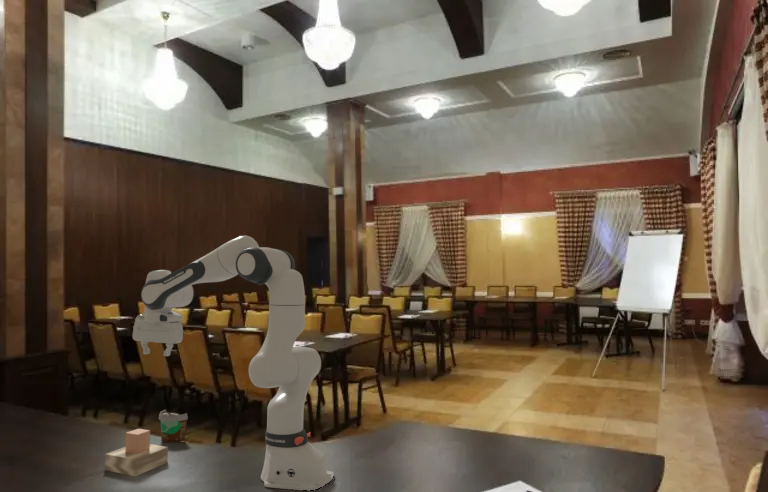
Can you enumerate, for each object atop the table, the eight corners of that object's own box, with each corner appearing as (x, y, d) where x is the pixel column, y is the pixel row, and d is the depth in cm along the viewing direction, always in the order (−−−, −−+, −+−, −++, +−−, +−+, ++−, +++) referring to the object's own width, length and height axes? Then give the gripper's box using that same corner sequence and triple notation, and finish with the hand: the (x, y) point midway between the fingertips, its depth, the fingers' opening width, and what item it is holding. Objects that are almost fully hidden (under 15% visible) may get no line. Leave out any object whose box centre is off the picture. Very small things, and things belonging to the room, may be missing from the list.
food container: (150, 440, 198) (151, 412, 199) (164, 435, 204) (165, 409, 204) (173, 445, 192) (174, 417, 193) (187, 440, 198) (188, 413, 198)
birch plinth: (167, 462, 176) (167, 447, 176) (135, 476, 164) (135, 459, 164) (137, 456, 180) (138, 441, 181) (104, 470, 168) (105, 453, 169)
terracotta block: (149, 449, 174) (150, 430, 174) (137, 453, 169) (137, 434, 169) (138, 447, 176) (138, 428, 176) (125, 451, 171) (125, 432, 171)
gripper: (128, 315, 191) (127, 354, 190) (173, 317, 183) (171, 358, 182) (142, 313, 197) (141, 351, 196) (186, 316, 189) (185, 355, 188)
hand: (156, 354), depth 189 cm, fingers open, 8 cm apart
